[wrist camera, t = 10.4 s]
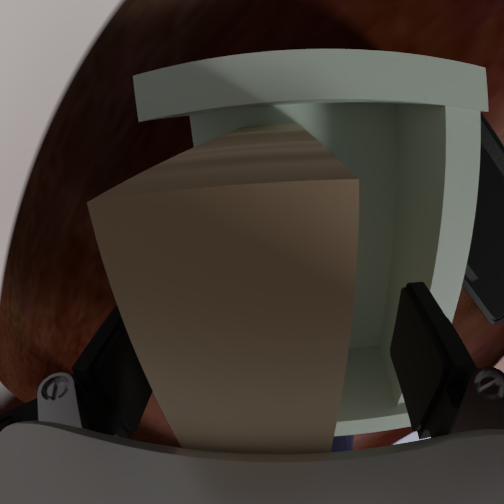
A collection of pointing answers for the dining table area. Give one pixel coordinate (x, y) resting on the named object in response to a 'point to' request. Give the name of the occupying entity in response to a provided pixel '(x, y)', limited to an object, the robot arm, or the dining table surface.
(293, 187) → the wooden block
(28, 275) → the dining table surface
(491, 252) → the phone
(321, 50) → the cabinet
